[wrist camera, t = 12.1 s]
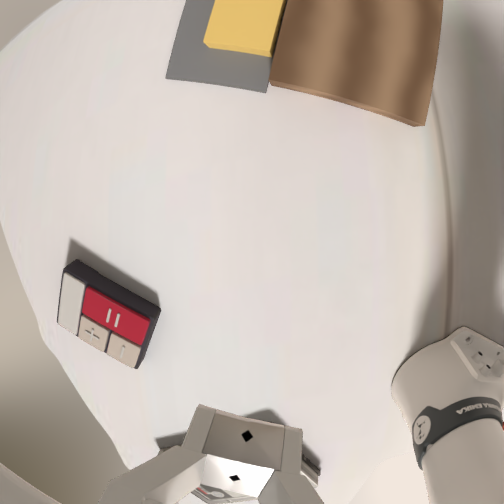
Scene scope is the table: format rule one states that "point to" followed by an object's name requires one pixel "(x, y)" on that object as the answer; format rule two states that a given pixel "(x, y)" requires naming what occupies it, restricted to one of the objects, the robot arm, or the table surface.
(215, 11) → the yellow rectangular block
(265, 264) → the table surface
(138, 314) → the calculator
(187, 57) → the mat
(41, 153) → the table surface
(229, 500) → the hard drive
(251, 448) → the robot arm
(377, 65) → the panel
